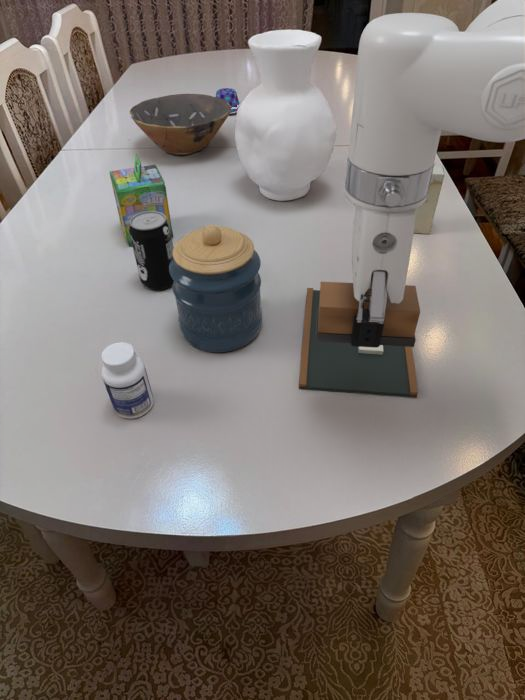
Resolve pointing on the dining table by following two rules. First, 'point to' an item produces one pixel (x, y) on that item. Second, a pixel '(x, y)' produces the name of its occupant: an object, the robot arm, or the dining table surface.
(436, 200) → the cosmetic box
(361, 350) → the white flat block
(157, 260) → the beverage can
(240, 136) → the vase
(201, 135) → the bowl
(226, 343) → the canister
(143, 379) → the pill bottle
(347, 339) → the eraser
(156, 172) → the chalk box
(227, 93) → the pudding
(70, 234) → the dining table surface
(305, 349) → the board
